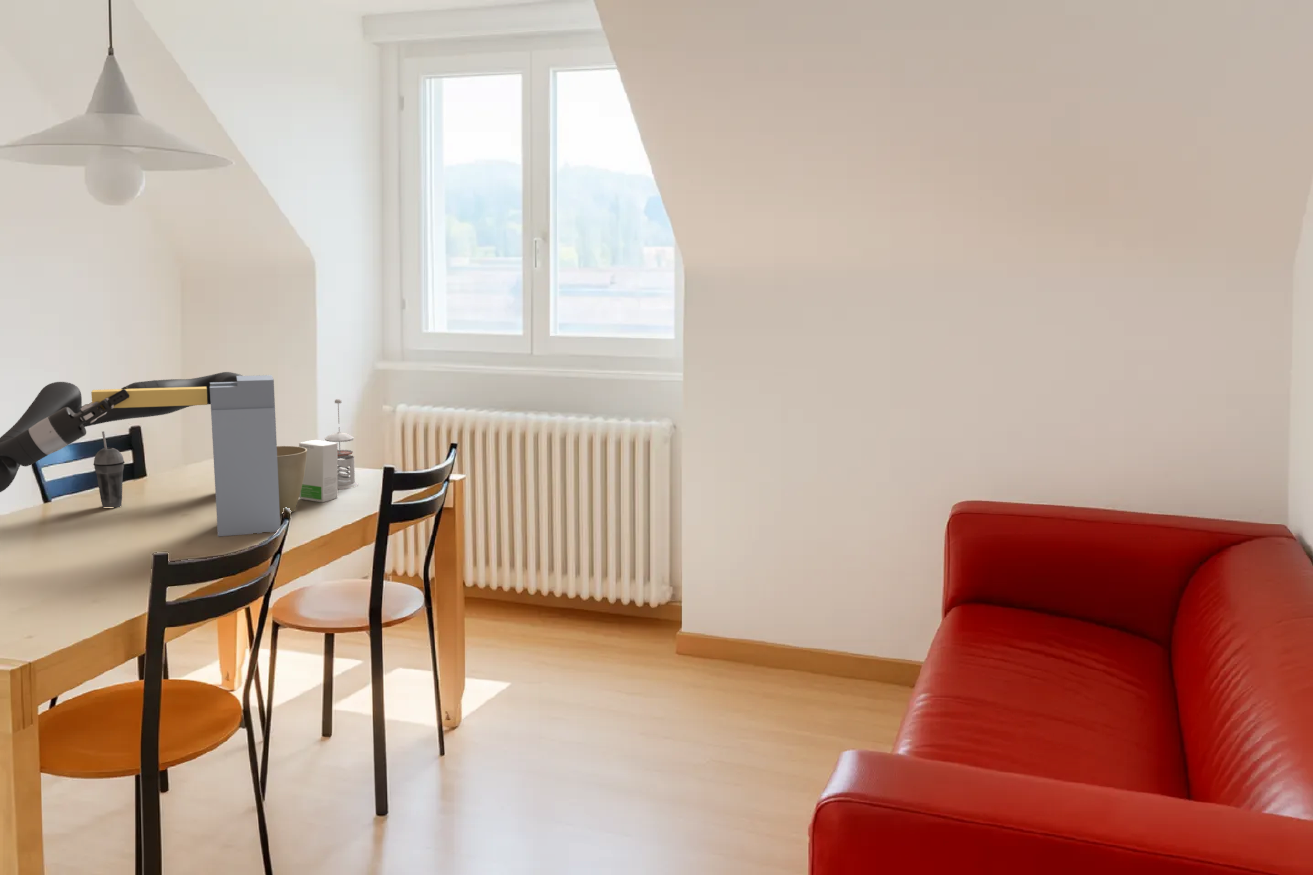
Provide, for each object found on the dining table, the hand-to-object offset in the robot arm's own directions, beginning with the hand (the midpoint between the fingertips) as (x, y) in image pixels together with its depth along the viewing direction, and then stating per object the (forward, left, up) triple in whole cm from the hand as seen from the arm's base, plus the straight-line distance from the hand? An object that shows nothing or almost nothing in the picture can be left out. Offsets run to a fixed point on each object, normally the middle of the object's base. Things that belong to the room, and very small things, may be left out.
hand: (127, 391), depth 253 cm
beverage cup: (-31, +16, -34) cm, 49 cm away
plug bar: (+3, +4, -3) cm, 6 cm away
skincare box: (+7, +51, -34) cm, 62 cm away
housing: (+16, +19, -34) cm, 42 cm away
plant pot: (+9, +35, -34) cm, 50 cm away
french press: (-1, +66, -34) cm, 74 cm away
